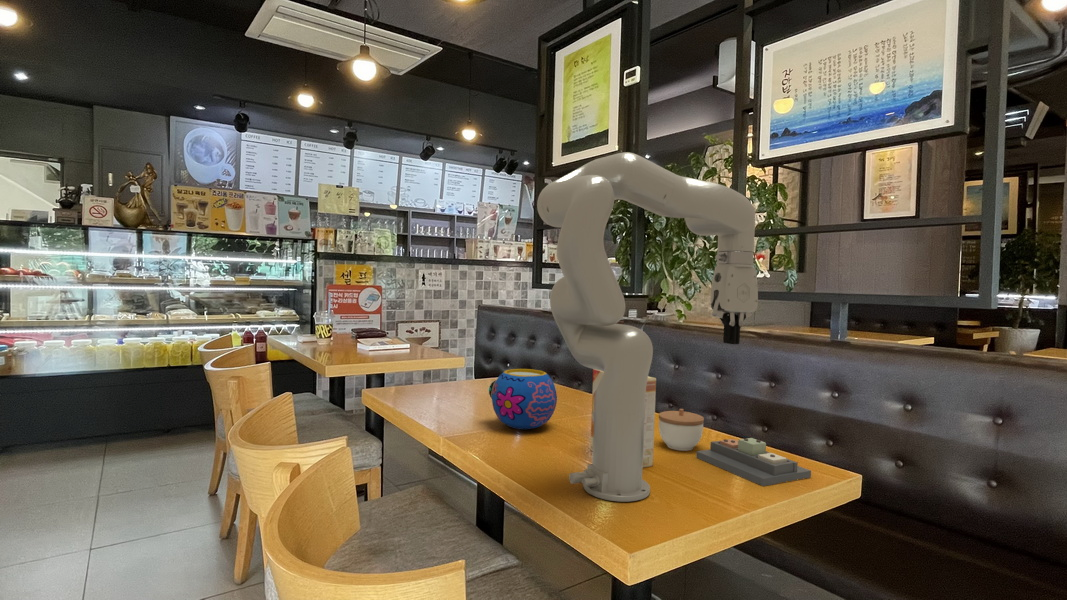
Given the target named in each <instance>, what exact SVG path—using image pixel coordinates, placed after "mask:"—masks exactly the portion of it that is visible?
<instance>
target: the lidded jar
mask: <svg viewBox="0 0 1067 600" xmlns="http://www.w3.org/2000/svg"><path fill="white" fill-rule="evenodd" d="M684 410H685V409H684V408H679V409H678V410H666V411H665V410H664V411H661V412H659V413H658V431H659V435H660V438H661V439H662V441H663V442H664V444H666V447H667V448H669V449H671V450H674V451H681V452H682V451H683V452H685V451H686V452H688V451H689V452H690V451H693V449H694V448H695V447H696V446H697V445H698V443H700V441H701V438H702V435H703V433H704V432H703V431H704V422H705V417H704V416H703V415H700V414H698V413H693V412H689V411H684Z"/></svg>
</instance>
